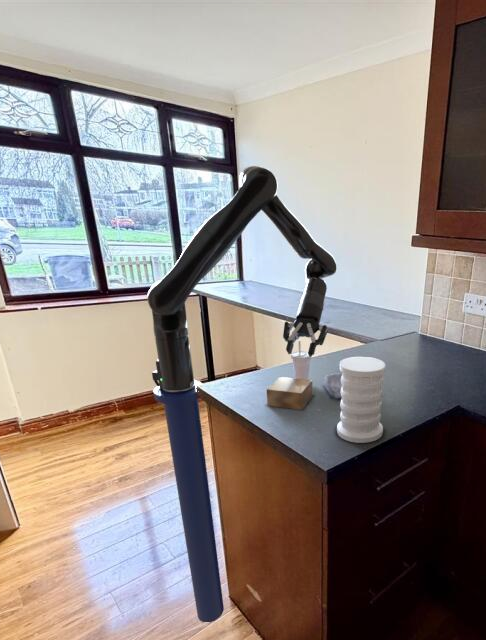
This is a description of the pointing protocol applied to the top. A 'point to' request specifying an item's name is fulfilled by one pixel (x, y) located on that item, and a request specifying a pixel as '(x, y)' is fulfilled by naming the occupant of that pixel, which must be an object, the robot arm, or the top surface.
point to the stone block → (333, 385)
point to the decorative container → (361, 399)
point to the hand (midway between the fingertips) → (299, 354)
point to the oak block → (289, 393)
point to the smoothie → (301, 364)
